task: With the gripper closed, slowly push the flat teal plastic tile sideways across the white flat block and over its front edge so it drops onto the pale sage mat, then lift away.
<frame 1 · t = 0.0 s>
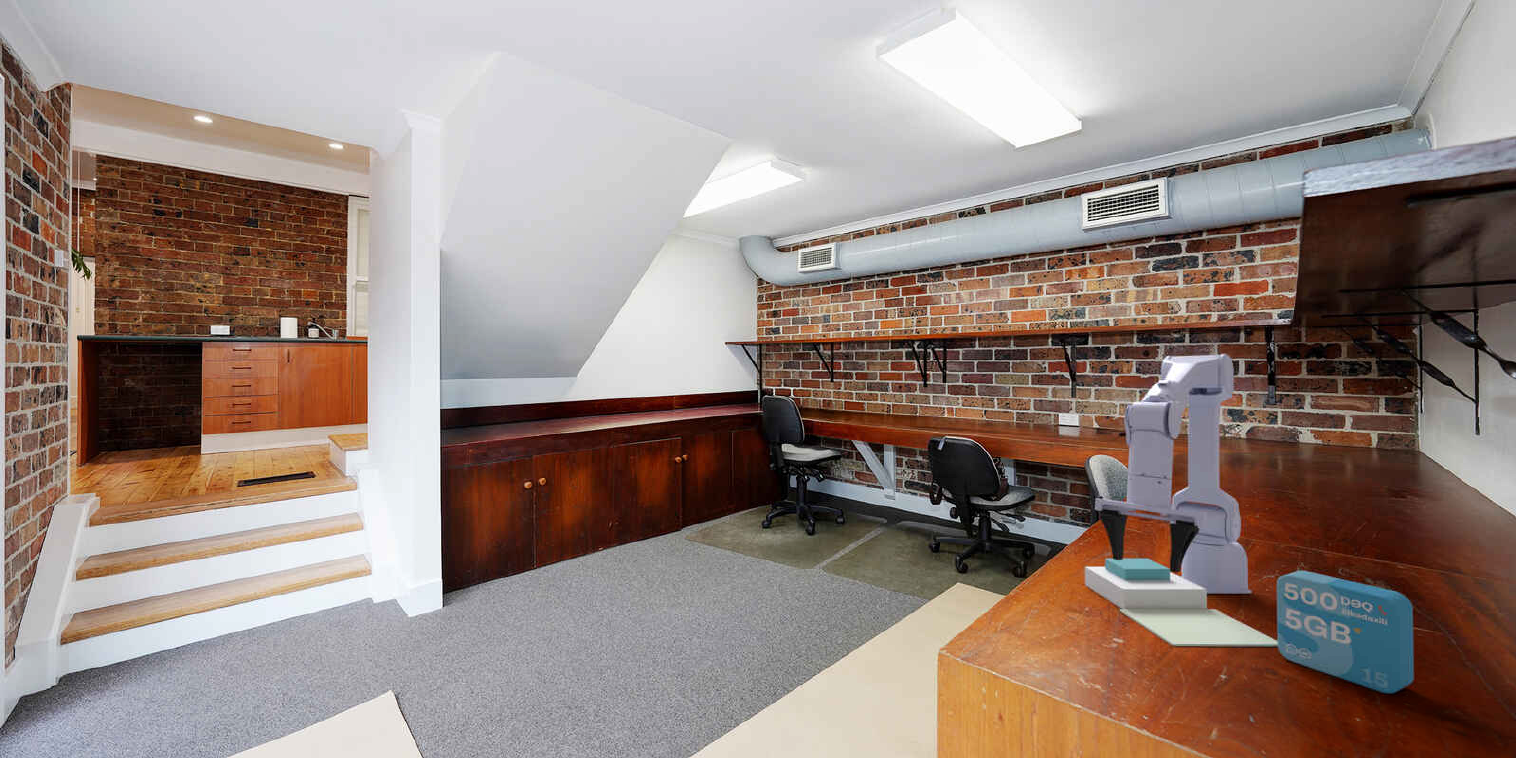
hand: (1145, 565, 88), 11 cm above the table, tool pointing down, fingers open, 7 cm apart
mat: (1195, 627, 90), on the table
white flat block: (1142, 596, 103), on the table
tile: (1136, 574, 105), point 3 cm above the table, touching white flat block
data package: (1341, 674, 76), on the table
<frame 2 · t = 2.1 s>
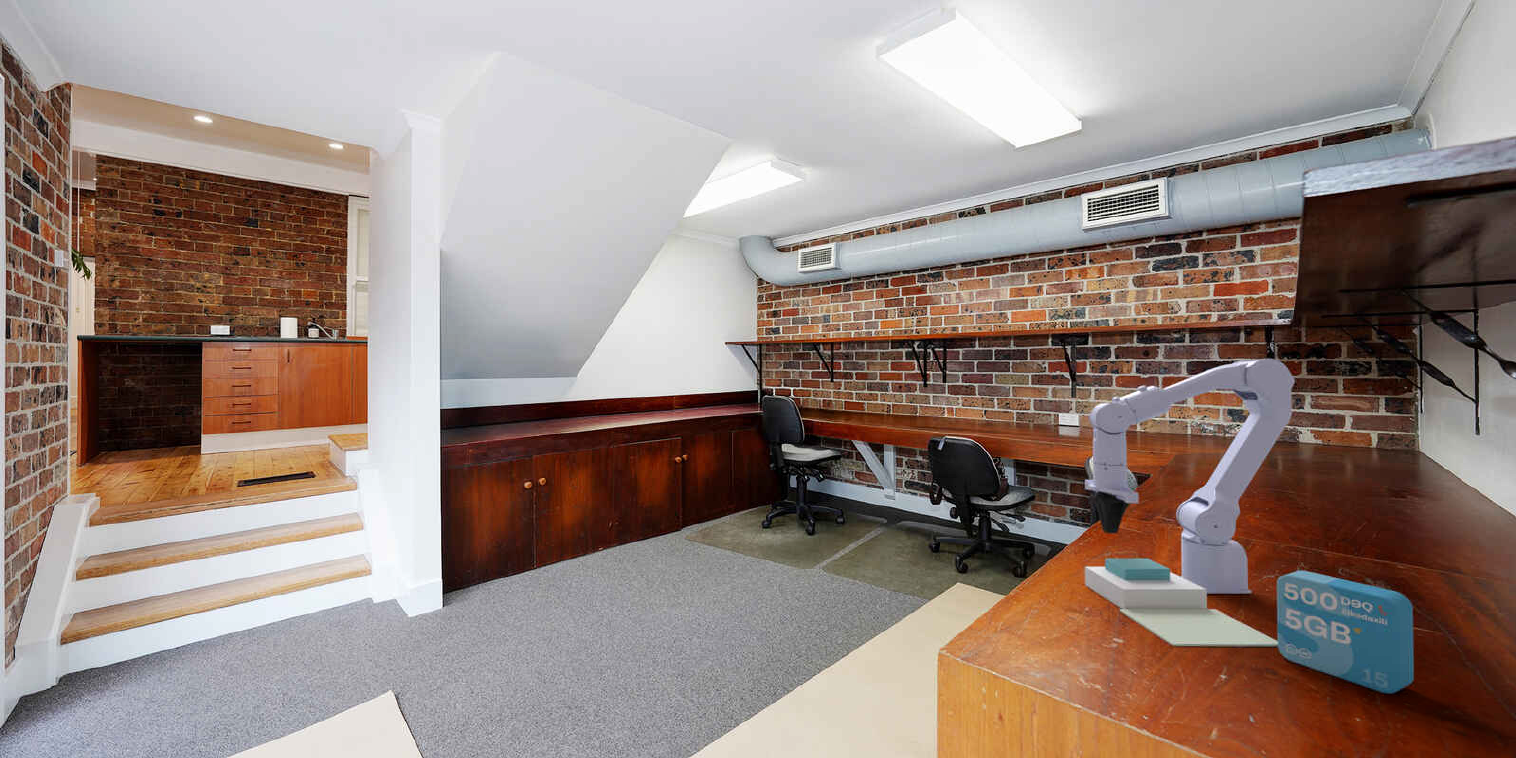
hand: (1110, 532, 113), 9 cm above the table, tool pointing down, fingers closed
nothing on the table moved.
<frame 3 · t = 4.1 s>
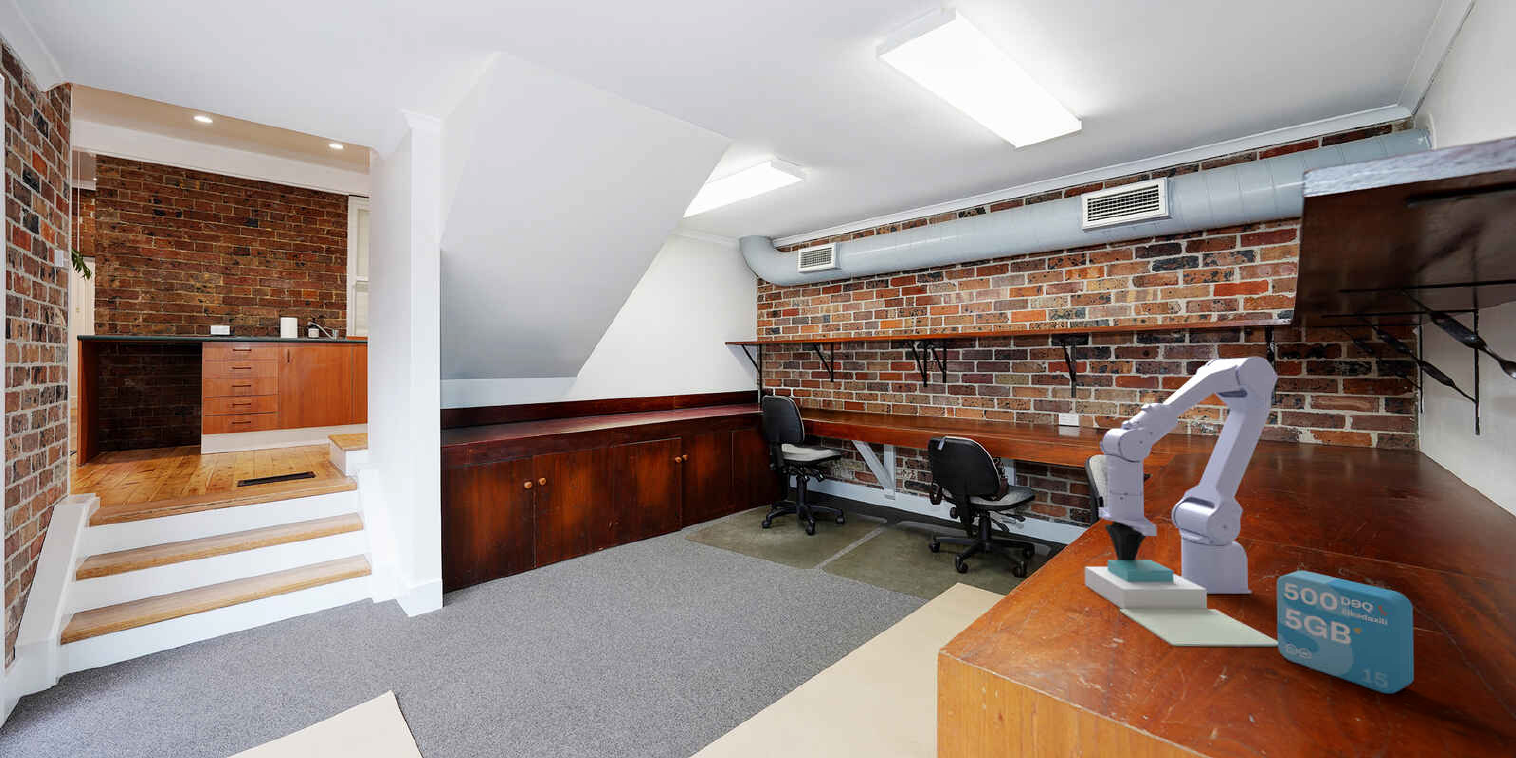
hand: (1126, 564, 108), 4 cm above the table, tool pointing down, fingers closed
tile: (1139, 576, 104), point 3 cm above the table, touching white flat block, gripper
everything else where it was.
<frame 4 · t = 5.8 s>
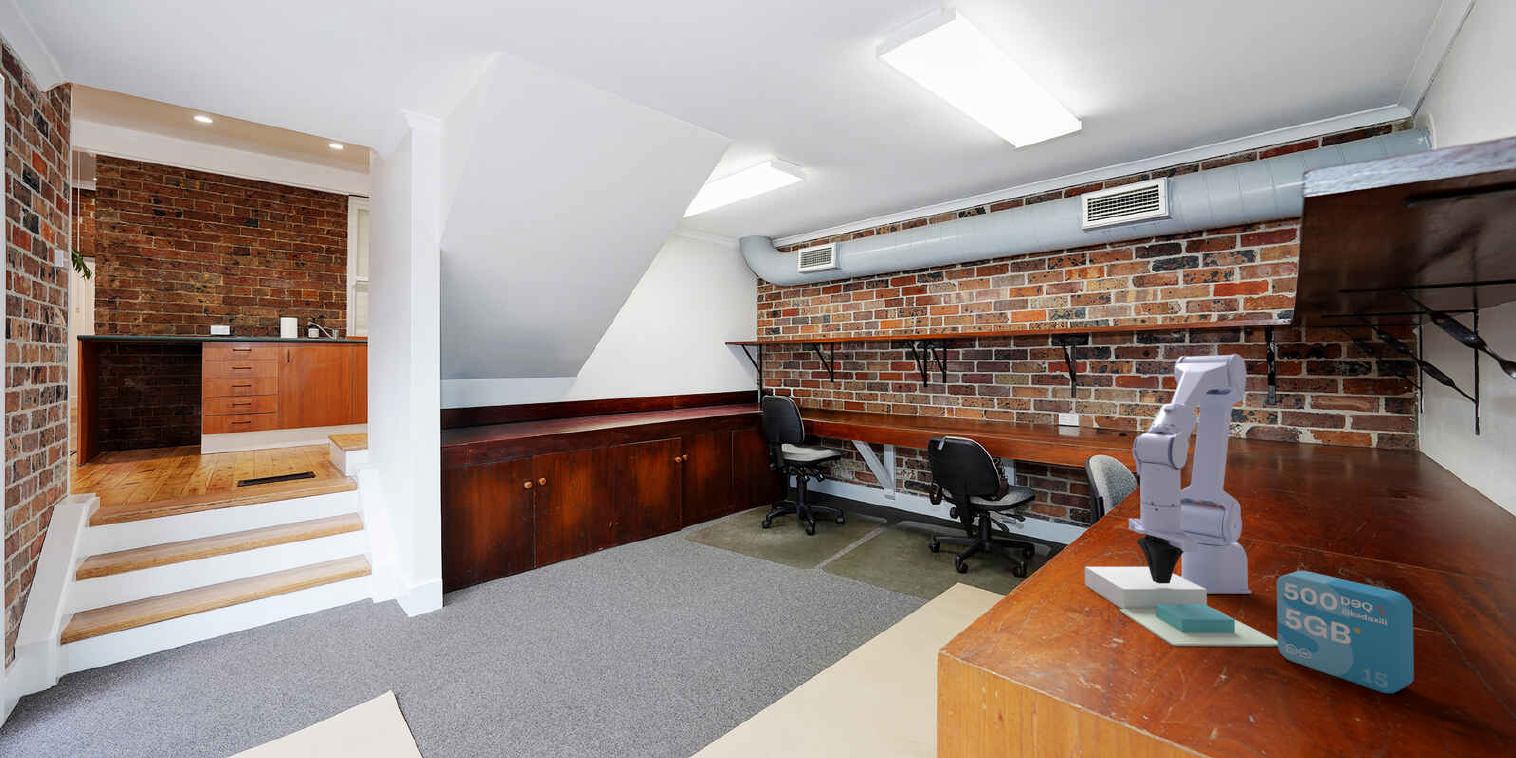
hand: (1161, 582, 98), 4 cm above the table, tool pointing down, fingers closed
tile: (1193, 611, 91), point 2 cm above the table, tilted 180°, touching mat
everything else where it was.
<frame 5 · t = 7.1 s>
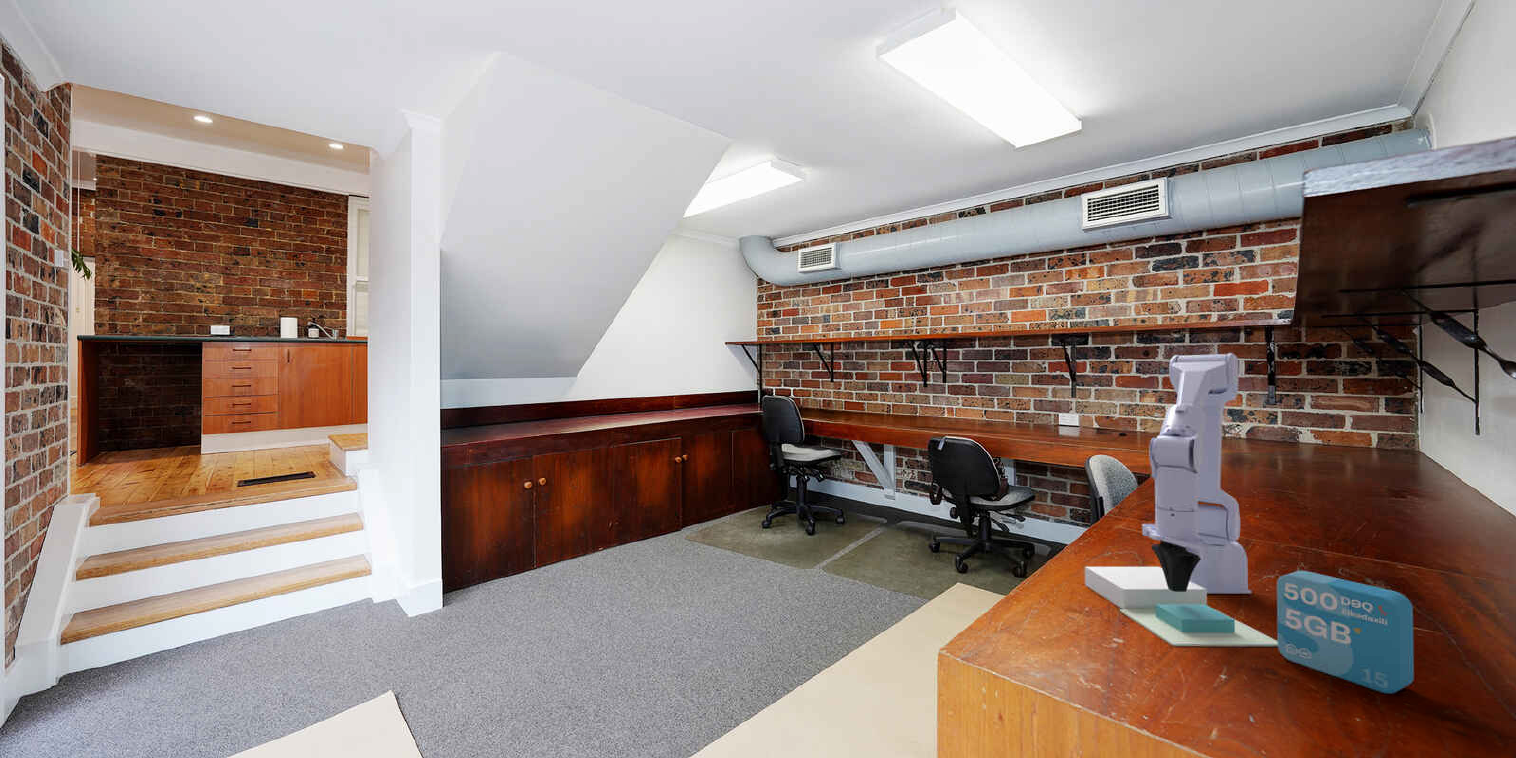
hand: (1177, 590, 95), 4 cm above the table, tool pointing down, fingers closed
nothing on the table moved.
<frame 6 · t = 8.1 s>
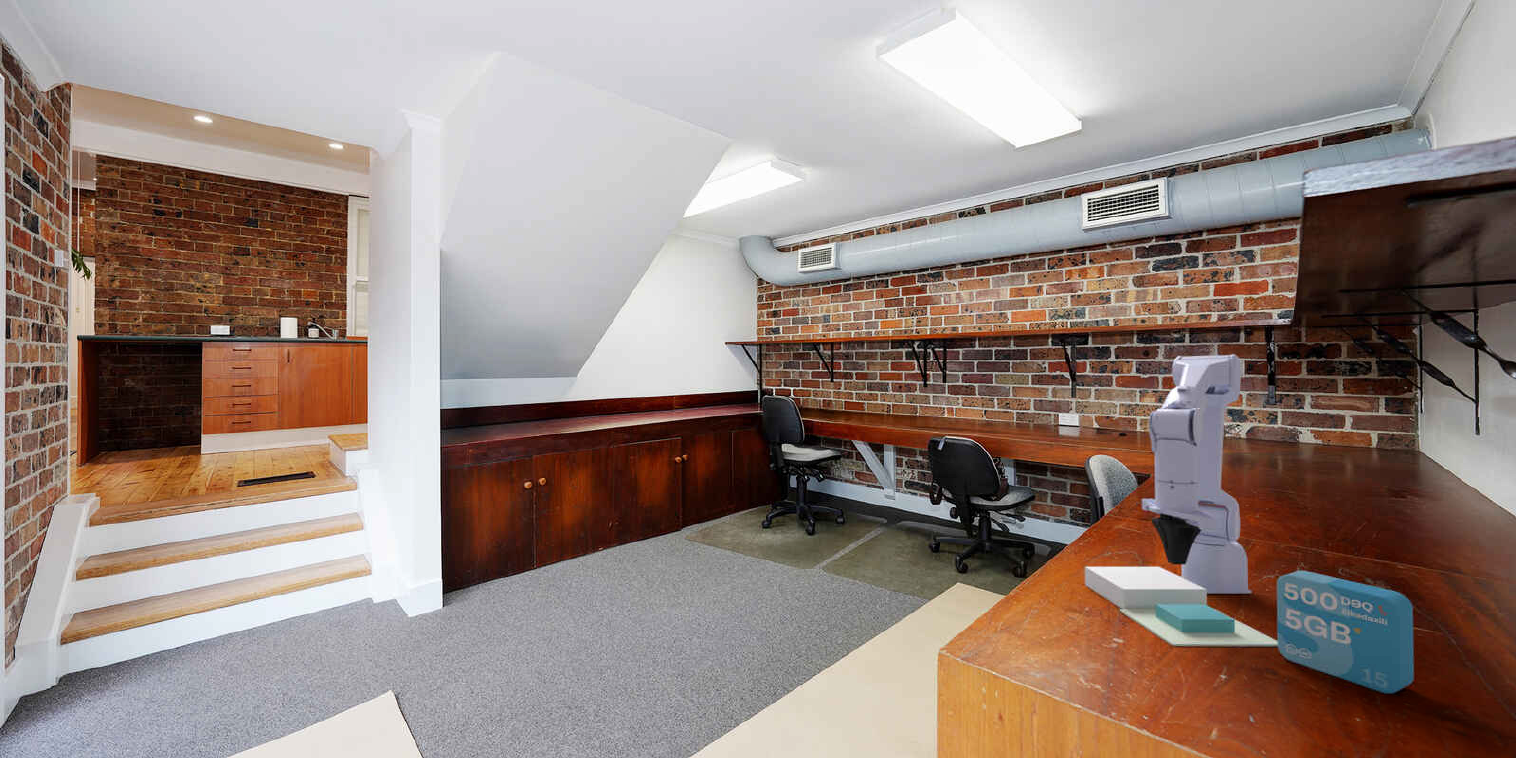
hand: (1176, 563, 95), 9 cm above the table, tool pointing down, fingers closed
nothing on the table moved.
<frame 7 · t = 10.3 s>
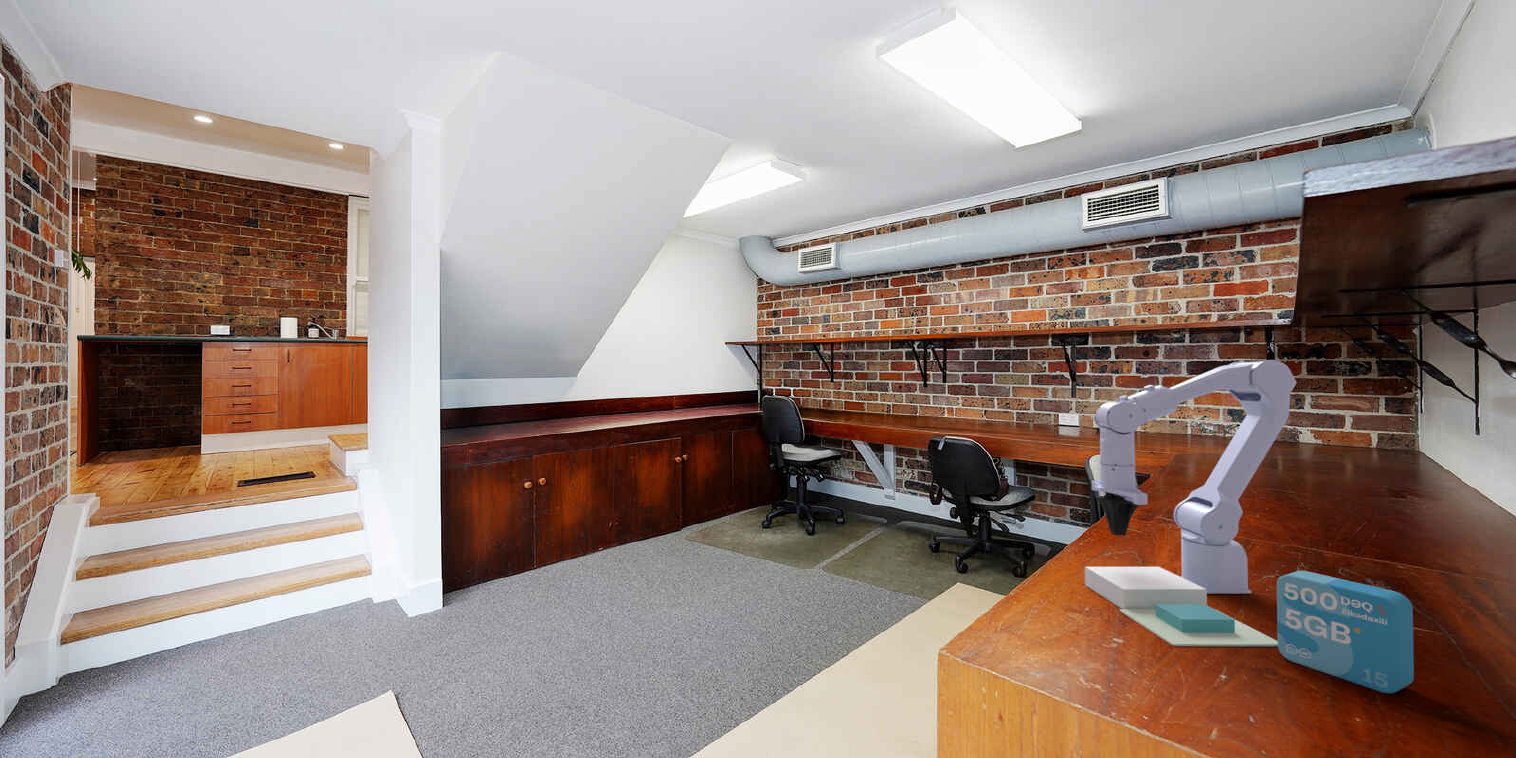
hand: (1118, 534, 111), 9 cm above the table, tool pointing down, fingers closed
nothing on the table moved.
at the end: tile inside the target area (0.9 cm from its centre), point 2.3 cm above the table; tile touching mat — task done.
